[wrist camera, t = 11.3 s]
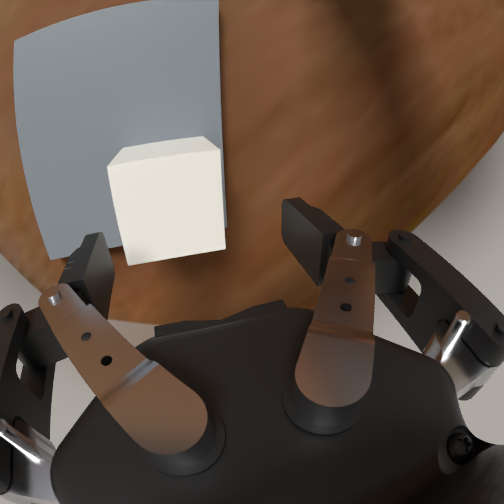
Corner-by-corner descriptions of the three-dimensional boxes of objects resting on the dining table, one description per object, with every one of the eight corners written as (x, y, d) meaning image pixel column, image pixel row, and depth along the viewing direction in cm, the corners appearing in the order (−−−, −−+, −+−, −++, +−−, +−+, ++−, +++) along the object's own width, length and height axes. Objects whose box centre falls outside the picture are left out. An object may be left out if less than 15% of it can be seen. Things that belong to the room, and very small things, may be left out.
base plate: (214, 2, 14) (218, -4, 13) (223, 220, 23) (227, 227, 22) (22, 43, 10) (14, 40, 9) (55, 251, 20) (50, 260, 18)
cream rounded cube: (203, 136, 18) (220, 149, 13) (208, 210, 21) (225, 248, 16) (122, 147, 17) (106, 166, 12) (134, 222, 19) (128, 265, 15)
